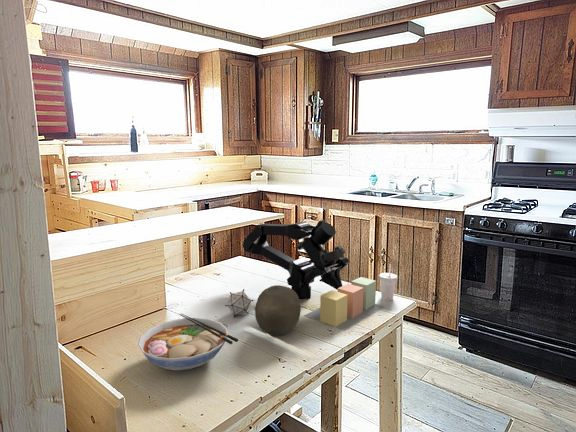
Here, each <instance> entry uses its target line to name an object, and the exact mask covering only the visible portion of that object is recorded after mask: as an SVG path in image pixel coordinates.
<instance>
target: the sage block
mask: <svg viewBox="0 0 576 432" xmlns="http://www.w3.org/2000/svg"><path fill="white" fill-rule="evenodd" d="M350 284H352V285H355V286H359V287H363V309H368V308H369V307H371V306H373V305H375V304H376V295H377V293H376V291H377V289H376V288H377V280H375V279H370V278H367V277H363V276H360V277H358V278H356V279H353V280H351V283H350Z"/></svg>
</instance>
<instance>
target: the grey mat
mask: <svg viewBox="0 0 576 432" xmlns="http://www.w3.org/2000/svg"><path fill="white" fill-rule="evenodd" d="M383 308H385V305H381V304H377V303H375V305H373V306H371V307H369V308H368V309H363V312H362V313H361V314H359V315H357V316H355V317H354V318H351V317H348V316H347V321H345V322H343V323H341V324H340V325H338V326H336V327H335V326H333V325H330V324H327V323H324V322H322V321H320V307H319V308H316V309H314V310H312V311H309V312H308V313H306V314H304V315H303V316H304V317H306V318H308V319H312V320H313V321H317V322H320V323H323V324H325V325H328V326H331V327H333V328H336V329H339V330H342V331H347V330H348V329H350V328H352V327H353V326H355V325H357V324H359V323H360V322H362V321H363V320H366V319H367V318H368V317H370V316H372V315H374V314H375V313H377V312H379V311H380V310H383Z"/></svg>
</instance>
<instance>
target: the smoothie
mask: <svg viewBox="0 0 576 432" xmlns="http://www.w3.org/2000/svg"><path fill="white" fill-rule="evenodd" d="M388 268H389V270H388V272H382V273H379V276H378V278H379V283H380V293H381V299H382V300H384V301H393V300H394V296H395V291H396V284H397V280H398V274H395V273H392V272H391V271H392V264H391V263H389V267H388Z"/></svg>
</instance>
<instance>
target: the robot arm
mask: <svg viewBox="0 0 576 432" xmlns="http://www.w3.org/2000/svg"><path fill="white" fill-rule="evenodd" d="M336 231H337V230H336V229H335V227H334V226H333V225H332V224H330V223H329V222H327V221H326V220H324V219H321V220H319V221H318V222H317V224H316V225H315V226H314V225H311V224H310V223H309V222H308V221H300V222H296V223H291V224H286V223H281V224H280V223H268V222H266V223H265V222H264V223H260V224H257V225H256V226H255V228H254V229H253V230H252V231H251V232H250V233H249V234H248V235H247V236H246V237H245V238H244V239H243V242H242V248H243V251H245V252H246V253H247V254H251V255H259V256H262V257H264V258H265V259H267V260H269V261H270V262H271V263H274V264H275V265H278V267H280V268H282V269H284V270H285V271H287V272H288V274H289V277H288V278H287V279H286V281H287V282H286V283H287V285H288V286H290V288H291V289H292V290H294V291H295V293H296V294H297V295H298V298H299V300H307V299H308V300H309V299H311V298H312V287H311V285H310V284H312V283H314V282H315V279H316V278H317V277H320V279H319V282H322V283H324V284H326V285H328V286H330V287H331V288H333V289H335V291H338V288H339V287H342V286H343V282H342V279H341V275H340V273H341V271H342V270H344V268H345V267H347V266H348V264H350V263H351V261H350V260H349V259H348V257H346V256H345V253H346V250H345V249H344V247H342V245H338V246H335V247H334V250H331V251H329V249H327V248H326V249H324V247H323V246H325V245H326V244H327V243H328V242H329V241H330V240H331V239H333V237H334V236H335V235H336V234H337V232H336ZM269 236H284V237H287V238H288V239H291V240H293V241H298V245H297V250H298V251H300V250H304V252H305V253H306V254H307V256H308V258H309V259H310V260H308V259H306V258H305V257H301V258H298V259H296V258H293V257H291V256H289V255H287V254H285V253H284V252H282V251H280V250H279V249H277V248H275V247H273V246H272V245H269V243H268V241H267V240H268V239H269ZM302 239H303V240H302ZM299 240H301V241H299Z"/></svg>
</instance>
